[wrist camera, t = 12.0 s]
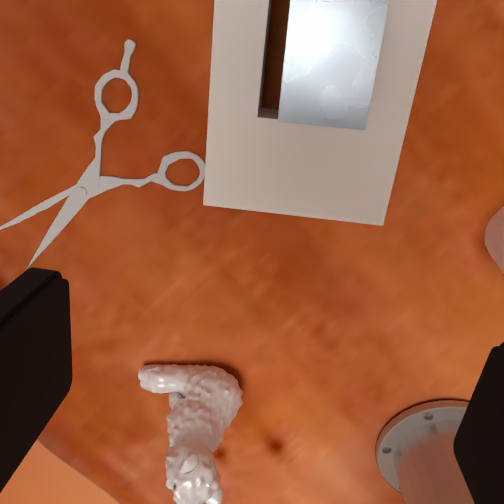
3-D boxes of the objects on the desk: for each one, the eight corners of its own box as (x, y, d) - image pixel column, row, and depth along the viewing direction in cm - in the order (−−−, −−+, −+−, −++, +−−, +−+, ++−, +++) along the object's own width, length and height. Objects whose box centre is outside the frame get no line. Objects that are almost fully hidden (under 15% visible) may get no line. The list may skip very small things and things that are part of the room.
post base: (442, -129, 26) (477, -167, 21) (369, 202, 34) (383, 225, 29) (235, -150, 26) (225, -192, 21) (213, 184, 34) (203, 204, 30)
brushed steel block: (351, 4, 29) (393, -23, 18) (336, 101, 31) (365, 130, 20) (289, -2, 29) (293, -32, 18) (279, 96, 31) (277, 121, 20)
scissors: (228, 162, 33) (51, 298, 39) (229, 160, 34) (56, 294, 40) (129, 37, 30) (-46, 205, 36) (133, 37, 31) (-39, 202, 37)
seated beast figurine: (136, 363, 42) (85, 474, 31) (216, 332, 40) (191, 439, 29) (186, 432, 45) (156, 553, 34) (262, 406, 43) (256, 527, 32)
